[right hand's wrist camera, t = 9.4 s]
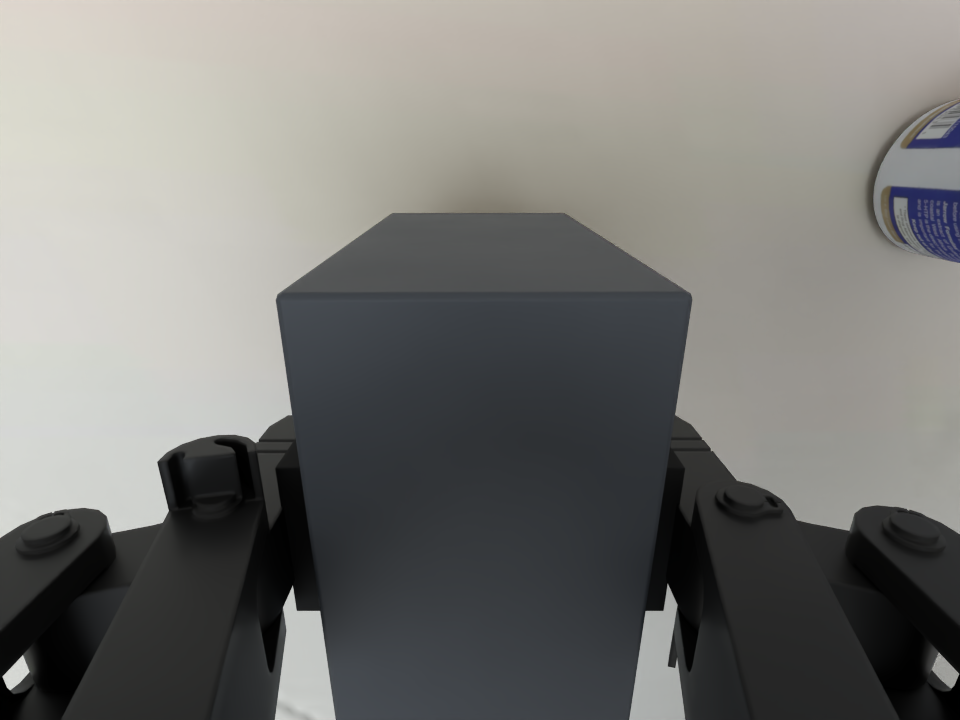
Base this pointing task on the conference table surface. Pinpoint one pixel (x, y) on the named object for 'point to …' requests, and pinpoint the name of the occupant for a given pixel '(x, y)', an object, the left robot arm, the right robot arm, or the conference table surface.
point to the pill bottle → (923, 186)
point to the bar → (483, 462)
